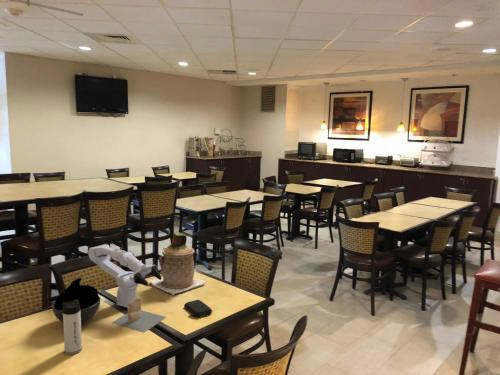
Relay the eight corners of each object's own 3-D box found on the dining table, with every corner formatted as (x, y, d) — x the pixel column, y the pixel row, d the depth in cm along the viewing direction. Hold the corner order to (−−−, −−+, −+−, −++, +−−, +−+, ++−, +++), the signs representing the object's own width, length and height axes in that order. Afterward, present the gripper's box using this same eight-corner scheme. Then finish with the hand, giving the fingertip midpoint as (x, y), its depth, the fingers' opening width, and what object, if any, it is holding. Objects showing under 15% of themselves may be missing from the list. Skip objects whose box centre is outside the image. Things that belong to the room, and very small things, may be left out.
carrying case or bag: (180, 308, 191) (194, 320, 179) (180, 302, 190) (194, 314, 179) (199, 303, 197) (213, 314, 185) (199, 297, 197) (213, 308, 185)
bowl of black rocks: (82, 336, 162) (80, 294, 159) (42, 329, 166) (40, 289, 164) (109, 315, 181) (108, 277, 178) (73, 309, 186) (72, 273, 183)
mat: (111, 323, 173) (111, 322, 173) (135, 309, 188) (135, 308, 187) (144, 333, 165) (144, 332, 165) (166, 318, 180) (166, 317, 180)
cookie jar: (207, 284, 221) (207, 231, 216) (172, 297, 203) (171, 239, 198) (182, 273, 237) (182, 223, 233) (147, 283, 220) (146, 230, 215)
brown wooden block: (127, 321, 174) (127, 303, 173) (136, 316, 180) (136, 298, 178) (132, 323, 173) (131, 304, 172) (141, 317, 178) (140, 299, 177)
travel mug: (67, 346, 154) (65, 299, 151) (84, 345, 155) (82, 299, 152) (61, 355, 148) (58, 306, 145) (78, 354, 149) (76, 306, 146)
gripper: (124, 265, 179) (141, 280, 171) (150, 255, 189) (167, 268, 182) (123, 277, 182) (140, 292, 174) (149, 266, 192) (166, 280, 185)
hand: (154, 281), depth 178 cm, fingers open, 7 cm apart
